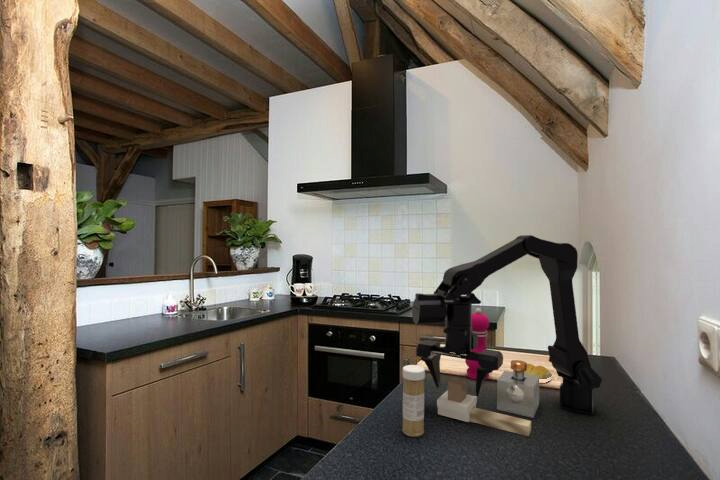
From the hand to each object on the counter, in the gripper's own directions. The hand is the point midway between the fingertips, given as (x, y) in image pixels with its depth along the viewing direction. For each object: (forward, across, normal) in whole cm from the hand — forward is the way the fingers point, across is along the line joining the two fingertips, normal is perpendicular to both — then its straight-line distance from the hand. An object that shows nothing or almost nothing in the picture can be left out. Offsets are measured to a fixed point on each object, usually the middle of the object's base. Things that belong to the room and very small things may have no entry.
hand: (457, 391), depth 90 cm
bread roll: (+6, -11, -36) cm, 38 cm away
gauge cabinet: (+5, -11, -12) cm, 17 cm away
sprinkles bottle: (+6, +5, +13) cm, 15 cm away
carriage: (+5, 0, 0) cm, 5 cm away
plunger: (+1, -11, -12) cm, 16 cm away
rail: (+5, -6, 0) cm, 8 cm away
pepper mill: (+6, +3, -28) cm, 29 cm away
